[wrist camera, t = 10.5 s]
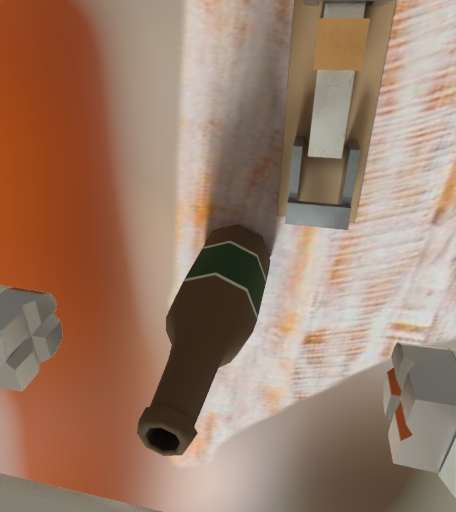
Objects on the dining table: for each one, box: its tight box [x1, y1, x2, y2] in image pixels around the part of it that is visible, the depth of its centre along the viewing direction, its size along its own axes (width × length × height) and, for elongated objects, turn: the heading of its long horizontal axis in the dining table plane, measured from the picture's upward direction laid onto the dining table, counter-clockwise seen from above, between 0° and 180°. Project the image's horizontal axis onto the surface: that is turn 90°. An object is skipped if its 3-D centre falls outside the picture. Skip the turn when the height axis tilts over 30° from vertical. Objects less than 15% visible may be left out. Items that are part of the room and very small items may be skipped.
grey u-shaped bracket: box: [285, 136, 361, 230], centre depth 35 cm, size 5×7×5 cm
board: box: [277, 0, 396, 223], centre depth 34 cm, size 8×23×1 cm, turn 0°
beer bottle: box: [137, 225, 270, 456], centre depth 34 cm, size 8×8×24 cm
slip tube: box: [308, 1, 370, 159], centre depth 30 cm, size 3×14×5 cm, turn 0°
